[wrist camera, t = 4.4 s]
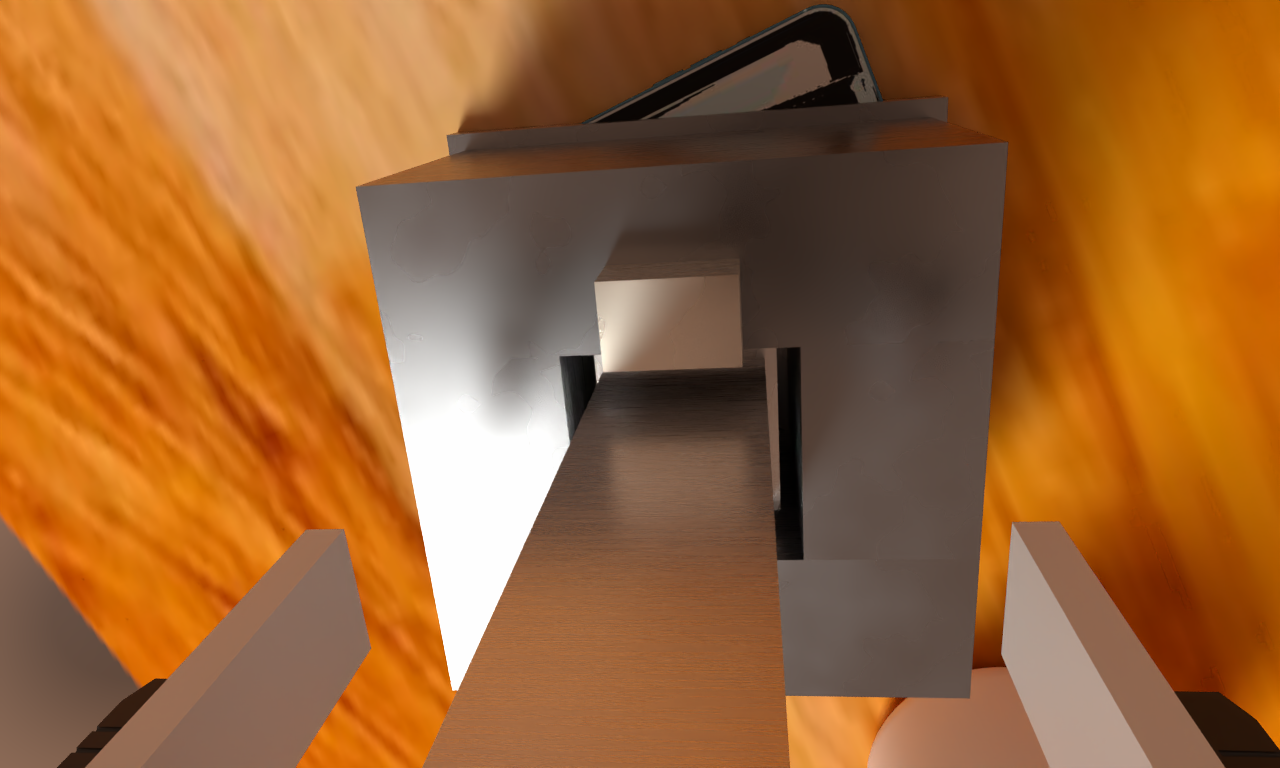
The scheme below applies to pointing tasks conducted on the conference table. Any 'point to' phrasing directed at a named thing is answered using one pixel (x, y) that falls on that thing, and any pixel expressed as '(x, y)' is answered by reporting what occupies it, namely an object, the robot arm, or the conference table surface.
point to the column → (642, 590)
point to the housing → (715, 349)
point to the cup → (961, 730)
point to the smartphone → (766, 73)
